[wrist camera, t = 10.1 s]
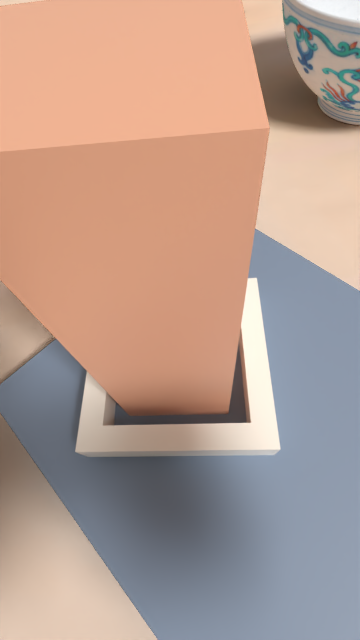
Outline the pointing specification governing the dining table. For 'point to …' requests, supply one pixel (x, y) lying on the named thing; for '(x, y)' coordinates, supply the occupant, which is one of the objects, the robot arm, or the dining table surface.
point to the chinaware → (327, 52)
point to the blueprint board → (227, 478)
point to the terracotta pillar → (133, 189)
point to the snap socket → (192, 439)
